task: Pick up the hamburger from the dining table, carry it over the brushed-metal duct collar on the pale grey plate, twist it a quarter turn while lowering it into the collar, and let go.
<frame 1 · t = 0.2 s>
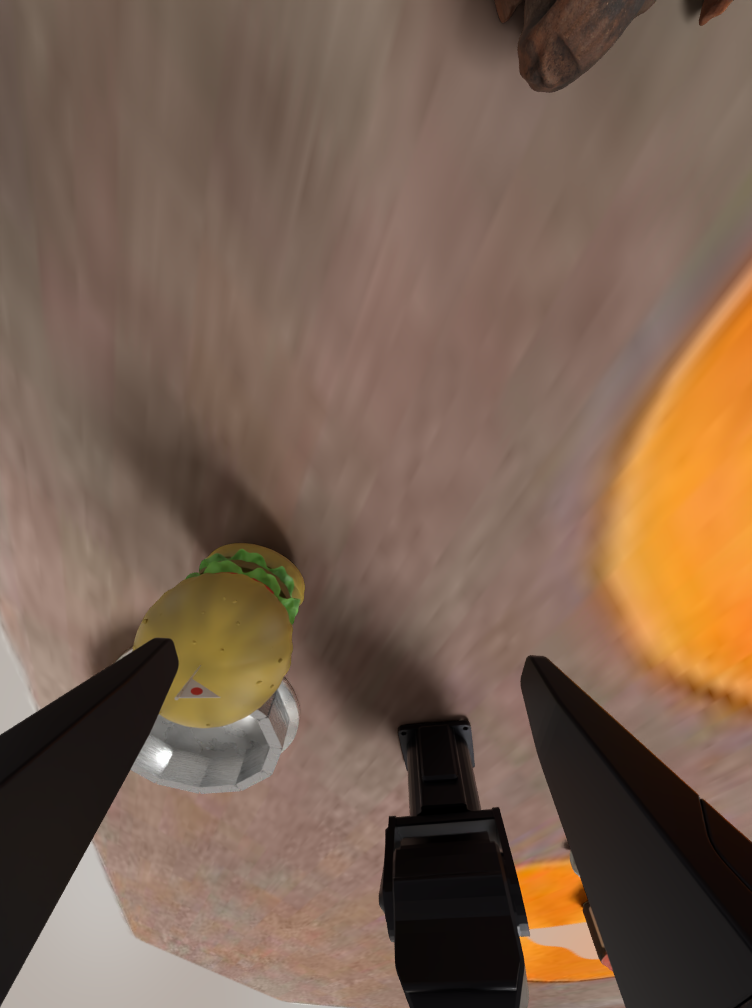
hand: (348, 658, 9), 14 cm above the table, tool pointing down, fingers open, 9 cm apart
hamburger: (266, 560, 25), on the table
tape dispenser: (620, 874, 43), on the table
duct collar: (206, 705, 31), on the table
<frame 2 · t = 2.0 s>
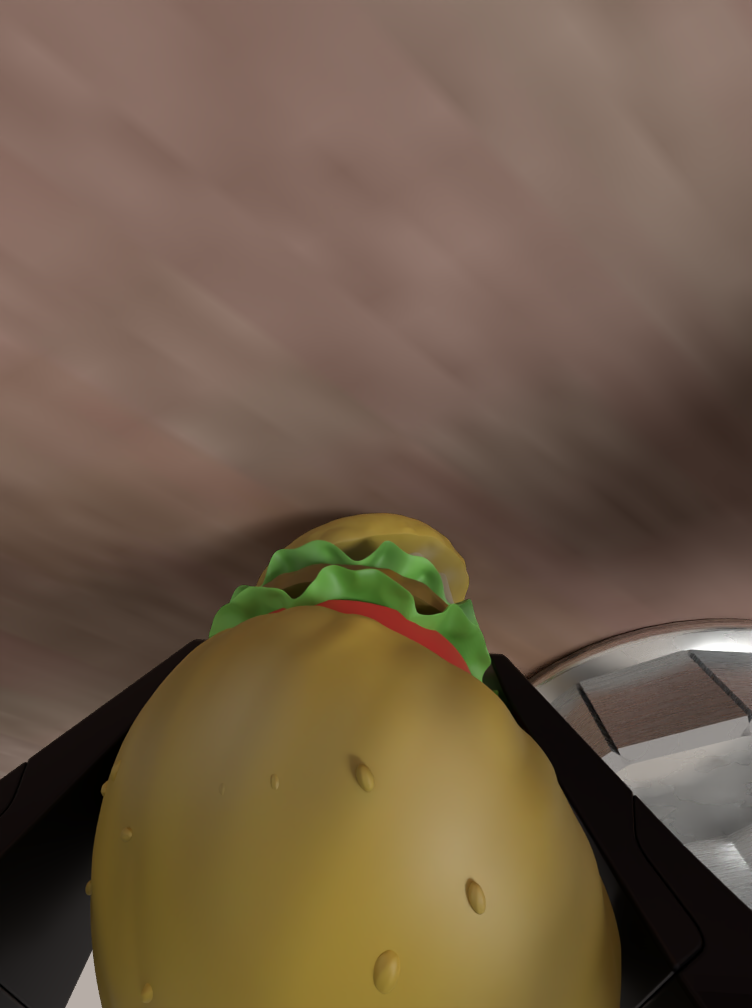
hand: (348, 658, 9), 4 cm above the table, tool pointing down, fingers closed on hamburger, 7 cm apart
hamburger: (363, 564, 13), on the table, touching gripper
duct collar: (657, 759, 16), on the table
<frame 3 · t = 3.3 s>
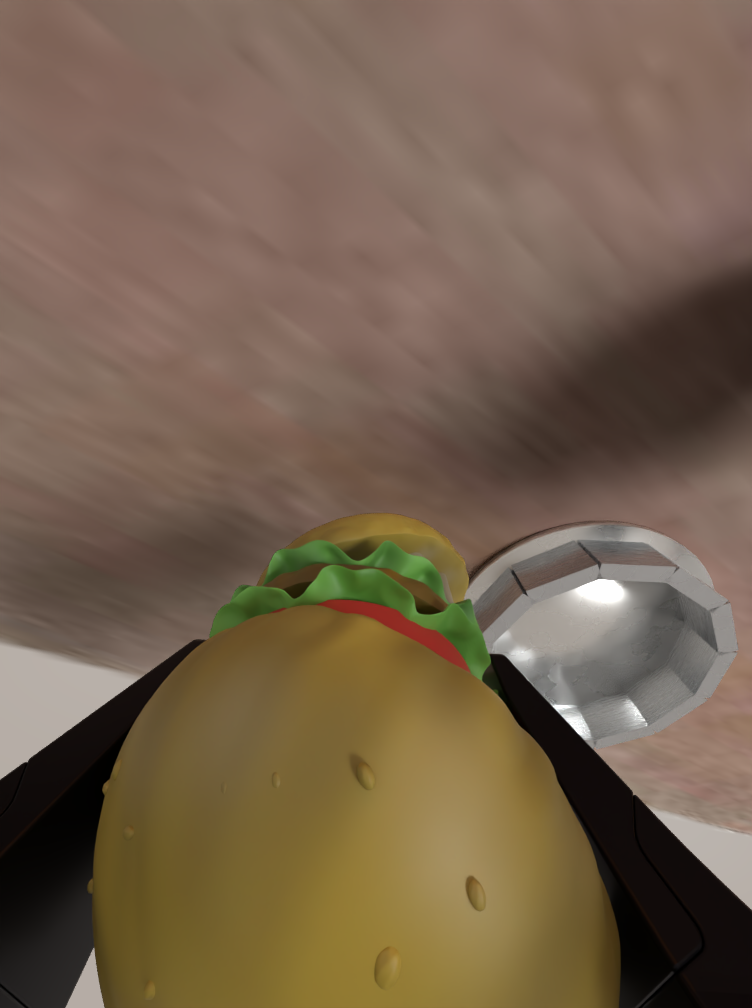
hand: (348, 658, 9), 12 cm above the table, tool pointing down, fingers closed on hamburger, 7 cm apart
hamburger: (363, 564, 13), point 8 cm above the table, touching gripper
duct collar: (571, 631, 24), on the table
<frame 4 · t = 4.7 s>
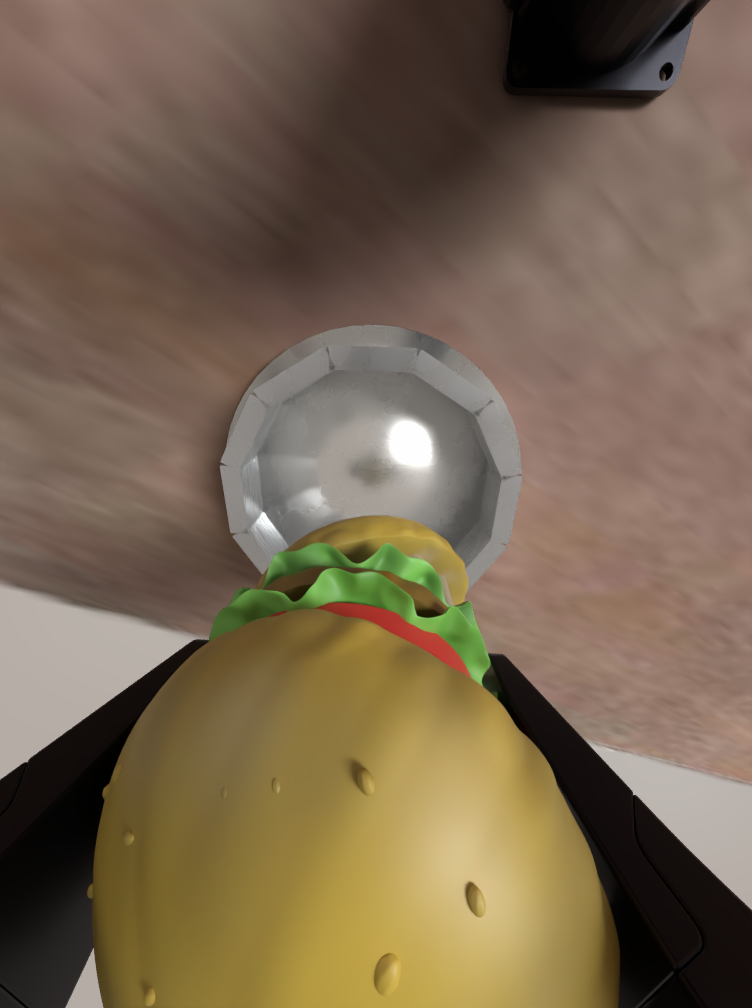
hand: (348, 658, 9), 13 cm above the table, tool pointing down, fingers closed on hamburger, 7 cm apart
hamburger: (363, 566, 13), point 9 cm above the table, touching gripper
duct collar: (371, 485, 21), on the table
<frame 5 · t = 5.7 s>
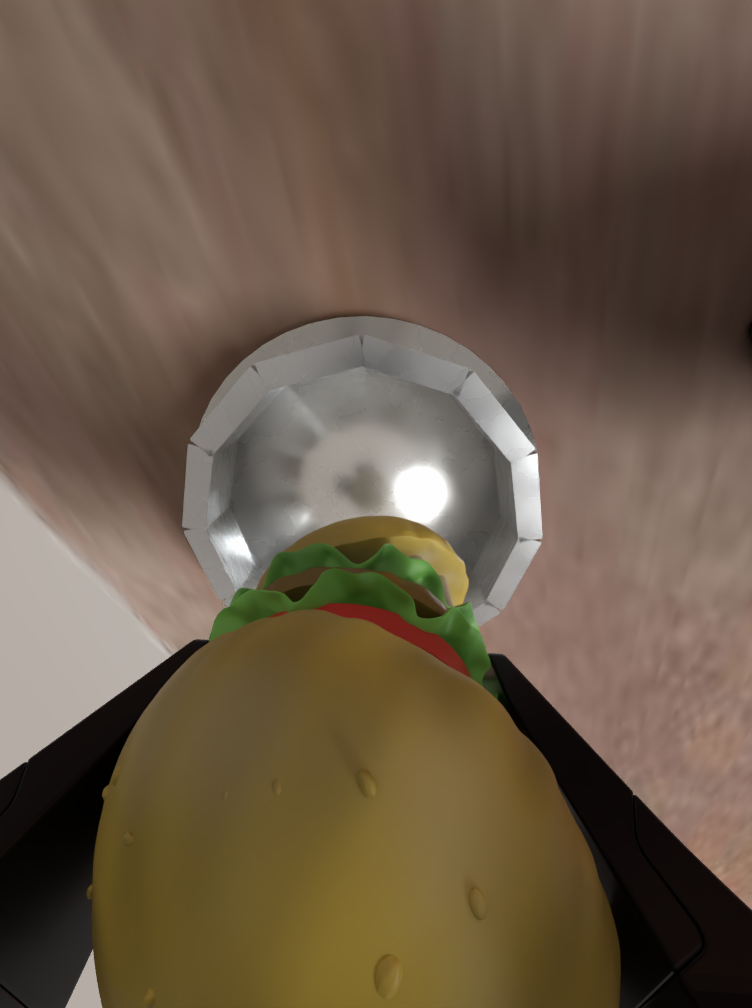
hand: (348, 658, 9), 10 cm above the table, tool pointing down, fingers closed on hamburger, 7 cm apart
hamburger: (363, 566, 13), point 5 cm above the table, touching gripper
duct collar: (364, 505, 18), on the table
when the fingers open (6 cm above the table, at t = 7.3 s): hamburger drops 2 cm, resting on duct collar.
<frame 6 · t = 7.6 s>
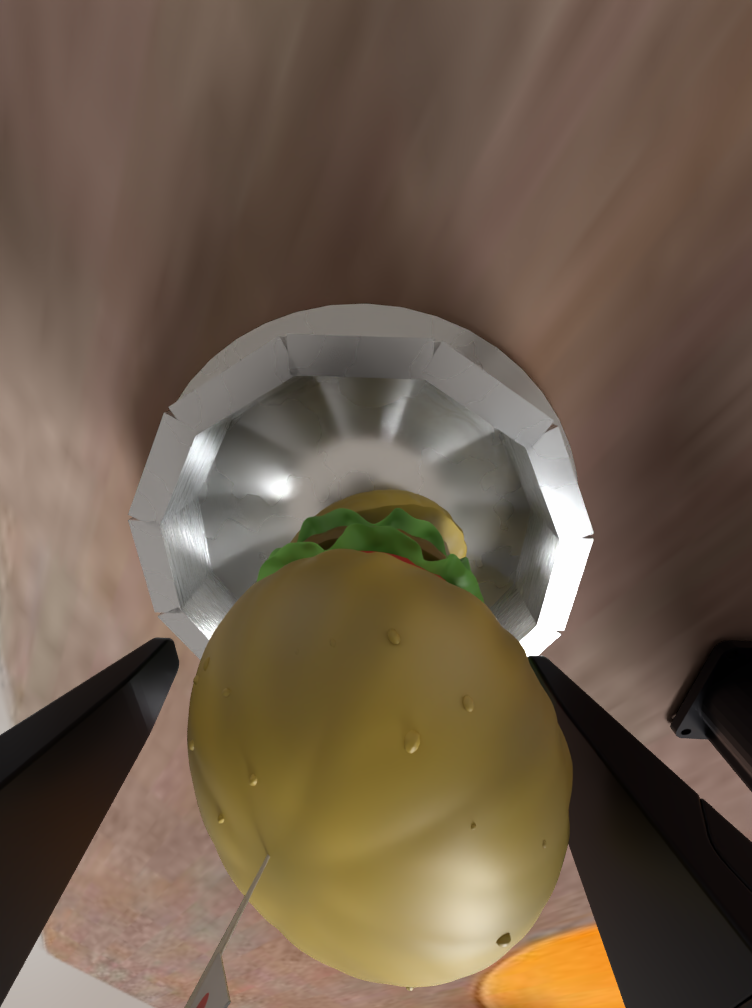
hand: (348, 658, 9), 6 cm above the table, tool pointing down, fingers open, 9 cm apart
hamburger: (374, 540, 14), resting on duct collar
duct collar: (363, 534, 15), on the table
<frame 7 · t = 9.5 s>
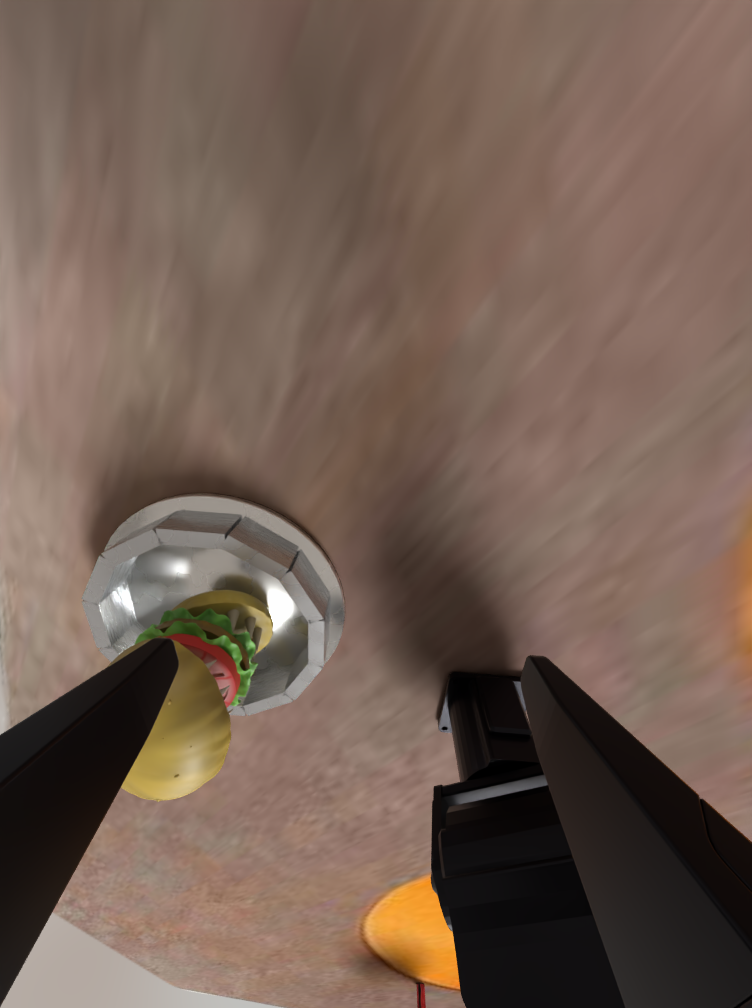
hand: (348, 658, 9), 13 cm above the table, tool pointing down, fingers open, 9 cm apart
hamburger: (231, 607, 25), resting on duct collar
duct collar: (227, 602, 25), on the table
lantern: (420, 982, 54), on the table
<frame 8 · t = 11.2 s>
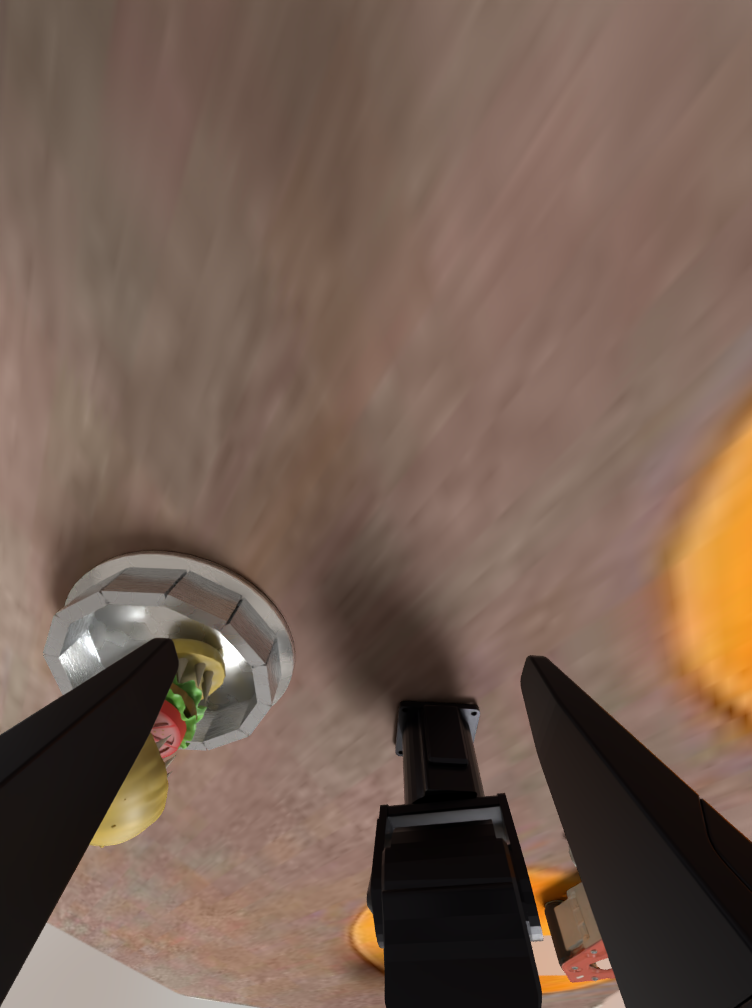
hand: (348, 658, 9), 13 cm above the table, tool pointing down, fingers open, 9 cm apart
hamburger: (188, 650, 26), resting on duct collar
tape dispenser: (598, 876, 40), on the table
duct collar: (184, 645, 27), on the table
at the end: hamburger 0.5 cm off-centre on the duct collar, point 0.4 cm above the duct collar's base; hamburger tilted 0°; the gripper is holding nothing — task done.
